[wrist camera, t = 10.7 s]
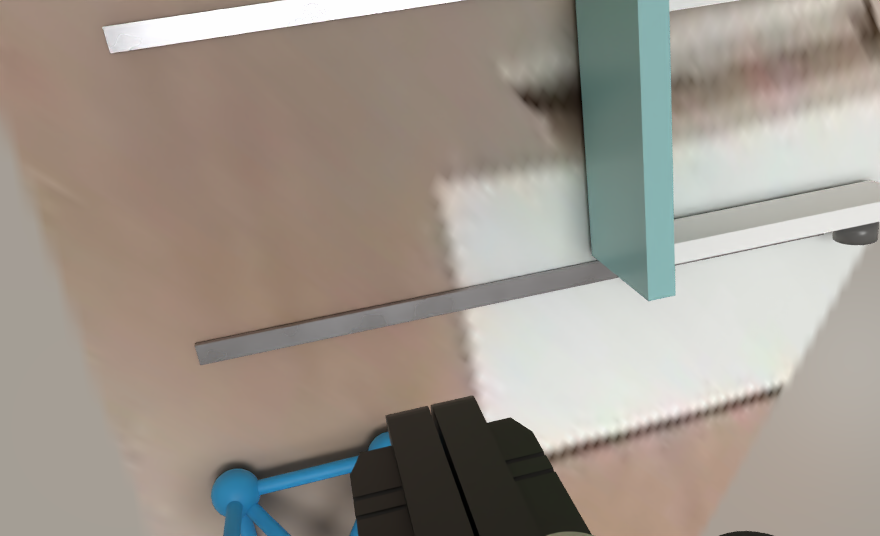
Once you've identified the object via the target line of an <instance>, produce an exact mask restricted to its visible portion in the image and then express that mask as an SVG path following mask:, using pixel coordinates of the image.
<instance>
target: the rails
mask: <svg viewBox="0 0 880 536" xmlns="http://www.w3.org/2000/svg"><path fill="white" fill-rule="evenodd" d="M455 1H462V0H283V1H276V2H270V3H263V4H256V5H249V6H242V7H235V8H228V9H221V10H215V11H208V12H201V13H194V14H187V15H180V16H173V17H166V18H159V19H153V20H146V21H139V22H132V23H125V24H118V25H111V26H104V27H103V30H104V34H105V37H106V41H107V44H108V48H109V51H110V53H115V52H122V51H129V50H135V49H142V48H149V47H155V46H162V45H169V44H175V43H182V42H189V41H195V40H202V39H209V38H215V37H222V36H229V35H235V34H242V33H249V32H255V31H262V30H269V29H275V28H282V27H289V26H295V25H302V24H309V23H315V22H322V21H329V20H335V19H342V18H348V17H355V16H362V15H368V14H375V13H382V12H388V11H395V10H402V9H408V8H415V7H422V6H428V5H435V4H442V3H448V2H455ZM823 234H824V233H822V234H818V235H813V236H808V237H803V238H799V239H794V240H789V241H784V242H779V243H775V244H770V245H765V246H760V247H756V248H751V249H746V250H741V251H737V252H732V253H727V254H722V255H717V256H713V257H708V258H703V259H698V260H694V261H689V262H684V263H679V264H675V266H676V265H680V264H685V263H690V262H695V261H699V260H704V259H709V258H714V257H719V256H723V255H728V254H733V253H738V252H742V251H747V250H752V249H757V248H761V247H766V246H771V245H776V244H780V243H785V242H790V241H795V240H800V239H804V238H809V237H814V236H819V235H823ZM614 278H618V276H617V275H616V274H614V273H613V272H612V271H611V270H609V269H608V268H607V267H606V266H604V265H603V264H602V263H601V262H600V261H593V262H588V263H584V264H579V265H574V266H569V267H564V268H559V269H554V270H550V271H545V272H540V273H535V274H530V275H525V276H520V277H516V278H511V279H506V280H501V281H496V282H491V283H486V284H481V285H477V286H472V287H467V288H462V289H457V290H452V291H447V292H443V293H438V294H433V295H428V296H423V297H418V298H413V299H409V300H404V301H399V302H394V303H389V304H384V305H379V306H375V307H370V308H365V309H360V310H355V311H350V312H345V313H340V314H336V315H331V316H326V317H321V318H316V319H311V320H306V321H302V322H297V323H292V324H287V325H282V326H277V327H272V328H268V329H263V330H258V331H253V332H248V333H243V334H238V335H234V336H229V337H224V338H219V339H214V340H209V341H204V342H200V343H196V344H195V348H196V352H197V355H198V359H199V362H200V365H204V364H209V363H214V362H218V361H223V360H228V359H233V358H237V357H242V356H247V355H252V354H256V353H261V352H266V351H271V350H275V349H280V348H285V347H290V346H295V345H299V344H304V343H309V342H314V341H318V340H323V339H328V338H333V337H337V336H342V335H347V334H352V333H356V332H361V331H366V330H371V329H376V328H380V327H385V326H390V325H395V324H399V323H404V322H409V321H414V320H418V319H423V318H428V317H433V316H437V315H442V314H447V313H452V312H456V311H461V310H466V309H471V308H476V307H480V306H485V305H490V304H495V303H499V302H504V301H509V300H514V299H518V298H523V297H528V296H533V295H537V294H542V293H547V292H552V291H557V290H561V289H566V288H571V287H576V286H580V285H585V284H590V283H595V282H599V281H604V280H609V279H614Z"/></svg>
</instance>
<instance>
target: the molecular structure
mask: <svg viewBox="0 0 880 536" xmlns="http://www.w3.org/2000/svg"><path fill="white" fill-rule="evenodd" d="M387 446H391V443H390V438H389V433H388V432H385V433H382V434H380V435H378V436H377V437H376V438H375V439H374V440H373V441H372V442H371V444H370V446H369V449H368V451H370V450H374V449H378V448H383V447H387ZM358 456H359V455H358ZM358 456H354V457H350V458H346V459H342V460H338V461H334V462H330V463H325V464H321V465H317V466H313V467H309V468H305V469H301V470H297V471H293V472H289V473H284V474H280V475H276V476H272V477H268V478H264V479H260V480H257V478H256V476H255V475H254V474H253V473H251V472H250V471H248V470H245V469H242V468H240V469H231V470H228V471H226V472H224V473H223V474H221V475H220V476H219V477H218V478H217V479H216V481H215V483H214V485H213V487H212V492H211V499H212V504H213V506H214V507H215V509H216V510H217V511H218V512H219V513H220V514H221V515H223V516H225V517H226V518H225V526H224V535H223V536H240V534H241V536H257V533H256V530H255V526H254V523H255V524H256V525H257V526H258V527H259V528H260V529H261V530H262V531H263V532H264V533H265V534H266V535H267V536H291V535H290V534H289V533H288V532H287V531H286V530H285V529H284V528H283V527H282V526H281V525H280V524H279V523H278V522H277V521H276V520H275V519H273V518H272V517H271V516H270V515H269V514H268V513H267V512H266V511H265V510H264V509H263V508H262V507H261V506H260V505H259V504H258V502H259V499H260V495H263V494H267V493H271V492H275V491H279V490H283V489H287V488H291V487H295V486H299V485H303V484H307V483H311V482H316V481H320V480H324V479H328V478H332V477H336V476H340V475H344V474H348V473H351V472H352V470H353V467H354V465H355V463H356V461H357V459H358ZM253 522H254V523H253ZM349 536H358V530H357V522H356V521H355V523H354V526H353V528H352V531H351V533H350V535H349Z"/></svg>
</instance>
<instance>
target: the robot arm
mask: <svg viewBox="0 0 880 536" xmlns="http://www.w3.org/2000/svg"><path fill="white" fill-rule="evenodd" d="M386 422H387V428H388V433H389V438H390V443H391V446H387V447H383V448H378V449H374V450H370V451H366V452H361V453H360V454H359V456H358V459H357V461H356V463H355V465H354V467H353V470H352V472H351V474H350V478H351V486H352V493H353V499H354V508H355V515H356V522H357V530H358V536H594V535H592V534H591V533H590V531H589V529H588V527H587V526H586V524H585V522H584V520H583V519H582V517H581V515H580V514H579V512H578V510H577V508H576V507H575V505H574V503H573V501H572V500H571V498H570V496H569V494H568V493H567V491H566V489H565V488H564V486H563V484H562V482H561V481H560V479H559V477H558V475H557V474H556V472H554V470H553V467H552V465H551V463H550V462H549V460H548V458H547V456H546V455H544V451H543V449H542V448H541V446H540V444H539V442H538V441H537V439H536V437H535V436H534V434H533V432H532V431H531V430H529V429H527V428H526V427H524V426H523V425H521V424H520V423H518V422H517V421H515V420H514V419H512V418H506V419H502V420H497V421H493V422H489V423H487V422H486V420H485V418H484V416H483V414H482V412H481V410H480V408H479V406H478V404H477V402H476V400H475V398H474V396H468V397H464V398H459V399H455V400H450V401H446V402H442V403H437V404H433V405H431V413H430V410H429V407H428V406H425V407H420V408H416V409H412V410H407V411H403V412H398V413H394V414H390V415H386ZM720 536H773V535H769V534H765V533H760V532H752V531H737V532H731V533H726V534H723V535H720Z"/></svg>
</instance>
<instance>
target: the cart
mask: <svg viewBox="0 0 880 536" xmlns="http://www.w3.org/2000/svg"><path fill="white" fill-rule="evenodd" d="M731 1H737V0H576V16H577V31H578V46H579V62H580V77H581V93H582V108H583V123H584V139H585V154H586V170H587V185H588V200H589V216H590V231H591V247H592V256H593V257H595V258H596V259H597V260H598V261H600V262H601V263H602V264H603V265H604V266H606V267H607V268H608V269H609V270H611V271H612V272H613V273H614V274H616V275H617V276H618V277H619V278H621V279H622V280H623V281H624V282H625V283H627V284H628V285H629V286H630V287H632V288H633V289H634V290H635V291H637V292H638V293H639V294H640V295H641V296H643V297H644V298H645V299H646V300H648V301H651V300H656V299H661V298H665V297H670V296H675V264H679V263H684V262H689V261H694V260H698V259H703V258H708V257H713V256H717V255H722V254H727V253H732V252H737V251H741V250H746V249H751V248H756V247H760V246H765V245H770V244H775V243H779V242H784V241H789V240H794V239H799V238H803V237H808V236H813V235H818V234H822V233H827V232H832V231H833V237H832V238H833V240H835V241H836V242H839V243H842V244H848V245H866V244H871V243H874V242H876V241H877V240H878V229H879V222H880V183H879V182H875V181H872V180H869V181H864V182H859V183H854V184H849V185H844V186H839V187H834V188H829V189H824V190H819V191H814V192H809V193H804V194H799V195H794V196H789V197H784V198H779V199H774V200H769V201H764V202H759V203H754V204H749V205H744V206H739V207H734V208H729V209H724V210H719V211H714V212H709V213H704V214H699V215H694V216H689V217H684V218H679V219H674V206H673V158H672V111H671V64H670V17H669V11H674V10H681V9H687V8H693V7H700V6H706V5H712V4H719V3H725V2H731Z"/></svg>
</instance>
